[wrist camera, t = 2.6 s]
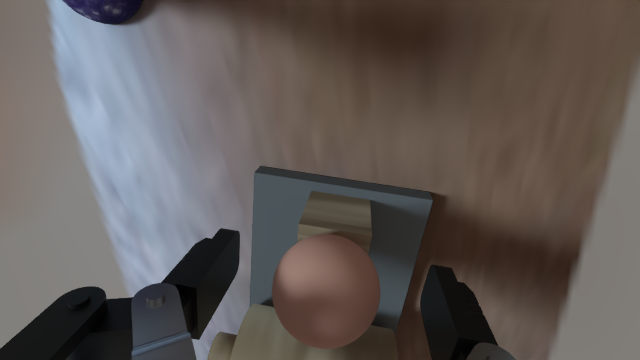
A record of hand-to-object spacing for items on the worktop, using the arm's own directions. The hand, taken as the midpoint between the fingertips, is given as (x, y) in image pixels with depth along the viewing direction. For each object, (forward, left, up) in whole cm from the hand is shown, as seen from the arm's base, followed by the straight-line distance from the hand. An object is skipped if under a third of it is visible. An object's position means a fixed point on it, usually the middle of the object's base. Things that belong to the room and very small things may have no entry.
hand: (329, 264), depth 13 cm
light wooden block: (0, 0, -5) cm, 5 cm away
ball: (0, 0, 0) cm, 0 cm away
